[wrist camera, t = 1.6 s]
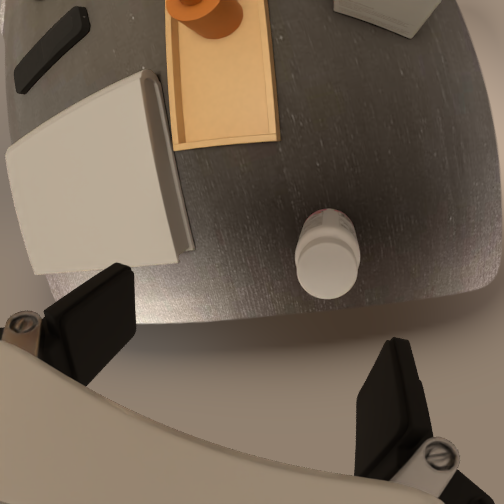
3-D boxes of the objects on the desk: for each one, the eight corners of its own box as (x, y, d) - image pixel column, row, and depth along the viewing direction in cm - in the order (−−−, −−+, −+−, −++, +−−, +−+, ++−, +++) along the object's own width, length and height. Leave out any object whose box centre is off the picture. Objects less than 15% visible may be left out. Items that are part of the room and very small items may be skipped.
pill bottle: (301, 257, 29) (289, 302, 21) (302, 206, 27) (289, 234, 19) (353, 260, 27) (359, 306, 20) (356, 208, 26) (366, 238, 18)
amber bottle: (235, -10, 20) (199, -53, 13) (249, 28, 22) (216, -11, 14) (188, 8, 22) (141, -24, 14) (200, 47, 23) (152, 19, 16)
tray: (174, -56, 19) (166, -63, 17) (257, -76, 17) (252, -86, 15) (183, 150, 28) (173, 151, 26) (280, 140, 25) (276, 141, 24)
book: (178, 263, 27) (34, 275, 34) (195, 248, 31) (53, 264, 38) (137, 65, 22) (3, 146, 29) (159, 72, 25) (24, 142, 32)
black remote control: (25, 96, 30) (91, 30, 25) (16, 97, 29) (80, 27, 23) (21, 71, 29) (85, 4, 24) (12, 71, 28) (75, 1, 22)
